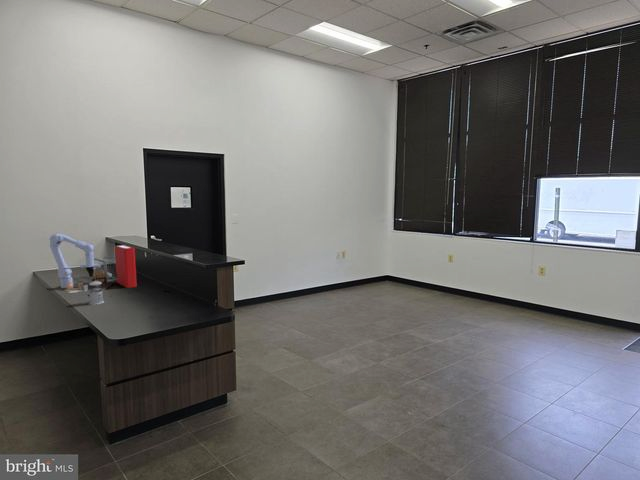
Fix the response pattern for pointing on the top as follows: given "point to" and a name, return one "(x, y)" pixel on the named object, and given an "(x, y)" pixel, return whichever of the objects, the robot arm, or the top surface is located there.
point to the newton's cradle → (106, 267)
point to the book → (125, 265)
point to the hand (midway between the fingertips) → (91, 276)
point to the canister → (69, 286)
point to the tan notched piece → (80, 286)
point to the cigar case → (99, 276)
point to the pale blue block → (85, 288)
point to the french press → (96, 293)
